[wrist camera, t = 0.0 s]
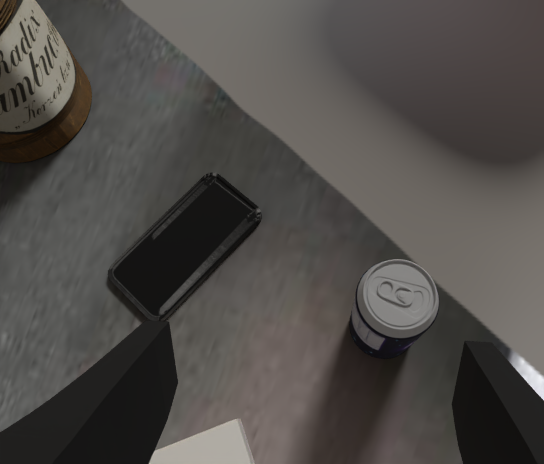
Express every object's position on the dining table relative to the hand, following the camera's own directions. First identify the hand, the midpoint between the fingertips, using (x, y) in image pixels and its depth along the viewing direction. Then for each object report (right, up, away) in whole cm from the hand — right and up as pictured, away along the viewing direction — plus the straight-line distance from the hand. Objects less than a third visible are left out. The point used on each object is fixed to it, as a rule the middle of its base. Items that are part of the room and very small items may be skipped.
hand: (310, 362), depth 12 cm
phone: (-9, +2, +37) cm, 38 cm away
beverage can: (+9, -5, +32) cm, 34 cm away
